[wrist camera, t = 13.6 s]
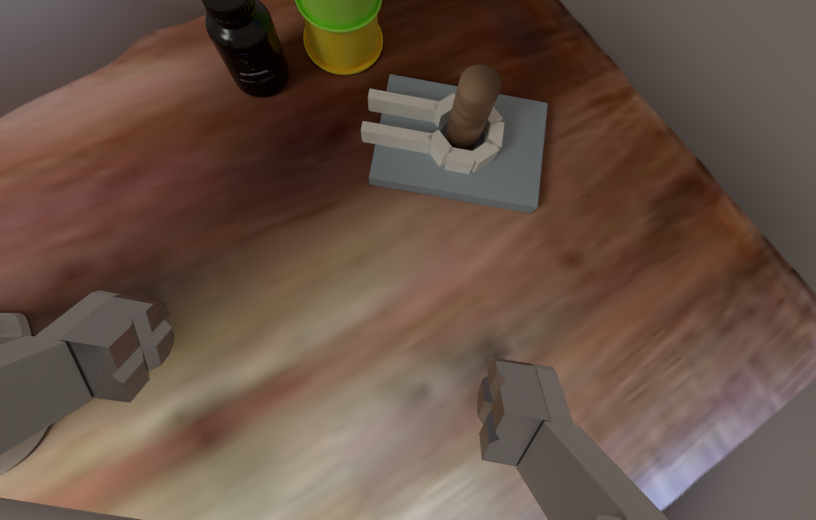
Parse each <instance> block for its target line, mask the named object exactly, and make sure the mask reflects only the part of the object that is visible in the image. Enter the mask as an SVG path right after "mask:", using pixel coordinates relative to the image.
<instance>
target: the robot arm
mask: <svg viewBox="0 0 816 520" xmlns="http://www.w3.org/2000/svg"><path fill="white" fill-rule="evenodd" d="M168 315H169V313H168V310H167V306H166V304H165V303H162V302H159V301H154V300H149V299H144V298H138V297H133V296H128V295H123V294H116V293H111V292H106V291H100V290H99V291H96V292H92V293H90V294H89V295H88V296H86V297H85V298H84V299H82V300H81V301H80V302H78V303H77V304H76V305H75V306H73V307H72V308H71V309H69V310H68V311H67V312H65V313H64V314H63V315H62V316H60V317H59V318H58V319H56V320H55V321H54V322H52V323H51V324H50V325H49V326H47V327H46V328H45V329H43V330H42V331H41V332H39V333H38V334H37V335H36V336H31V331H30V327H29V324H28V321H27V319H26V317H25V316H24V315H23V314H21V313H0V474H2V473H4V472H6V471H7V470H9V469H11V468H12V467H14V466H15V465H16V464H18V463H19V462H20V461H21V460H23V459H24V458H25V457H26V456H27V455H28V454H29V453H30V452H31V451H32V450H33V449H34V447H35V446H36V445H37V444H38V442H39V441H40V439H41V438H42V436H43V435H44V433H45V431H46V429H47V428H48V426H50V425H51V424H53V423H55V422H56V421H58V420H60V419H61V418H63V417H65V416H66V415H68V414H70V413H71V412H73V411H75V410H76V409H78V408H80V407H81V406H83V405H85V404H86V403H88V402H90V401H91V400H92V398H99V399H107V400H114V401H122V402H129V403H130V402H131V401H132V400H133V399H134V398H135V396H136V395H137V394H138V393H139V391H140V390H141V389H142V388H143V387H144V385H145V384H146V383H147V382H148V381H149V371H150V370H152V369H154V368H156V367H158V366H160V365H162V363H163V362H164V361H165V359H166V358H167V357H168V356H169V353H170V351H171V348H172V346H173V342H174V333H173V328H172V327H171V326H170V325H169V324H168V323H167V322H166V321H165V318H166V317H167V316H168ZM487 373H488V376H487V377H486V378H484V379H482V381H481V384H480V387H479V391H478V397H477V414H478V418H479V419H480V421H481V422H482V423H483V426H482V428H481V431H480V433H479V436H480V446H481V456H482V460H485V461H490V462H495V463H501V464H506V465H511V466H516V467H517V468H516V469H517V470H518V472H519V473H520V475H521V477H522V478H523V480H524V481H525V483H526V485H527V486H528V488H529V490H530V491H531V493H532V494H533V496H534V498H535V499H536V501H537V502H538V504H539V506H540V507H541V509H542V511H543V512H544V514H545V515H546V517H547V519H548V520H668V518H666V516H665V515H664V514H663V513H662V512H661V511H660V510H659V509H658V508H657V507H656V506H655V505H654V504H653V503H652V502H651V501H650V500H649V499H648V498H647V496H646V495H645V494H644V493H643V492H642V491H641V490H640V489H639V488H638V487H637V486H636V485H635V484H634V483H633V482H632V481H631V480H630V479H629V478H628V477H627V476H626V474H625V473H624V472H623V471H622V470H621V469H620V468H619V467H618V466H617V465H616V464H615V463H614V462H613V461H612V460H611V459H610V458H609V457H608V456H607V455H606V454H605V452H604V451H603V450H602V449H601V448H600V447H599V446H598V445H597V444H596V443H595V442H594V441H593V440H592V439H591V438H590V437H589V436H588V435H587V434H586V433H585V432H584V430H583V429H582V428H581V427H577V426H574V424H573V421H572V418H571V415H570V412H569V409H568V406H567V403H566V400H565V397H564V394H563V391H562V388H561V386H560V383H559V380H558V377H557V374H556V371H555V370H554V368H553V367H549V366H543V365H536V364H530V363H524V362H517V361H511V360H505V359H498V358H492V359H491V360H490V361H489V364H488V366H487ZM0 520H140V519H134V518H128V517H121V516H115V515H108V514H102V513H96V512H89V511H83V510H76V509H70V508H63V507H57V506H51V505H44V504H38V503H31V502H25V501H19V500H12V499H6V498H0Z"/></svg>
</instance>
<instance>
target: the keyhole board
mask: <svg viewBox="0 0 816 520" xmlns="http://www.w3.org/2000/svg"><path fill="white" fill-rule="evenodd" d="M457 88H458V86H452V85H447V84H441V83H436V82H430V81H425V80H419V79H414V78H409V77H403V76H398V75H392V74H390V76H389V81H388V86H387V91H386V92H385V91H380V90H375V89H370V90H369V94H368V106H369V111H373V112H379V113H382V115H381V120H380V124H377V123H371V122H366V121H363V122H362V127H361V137H362V142H366V143H371V144H375V149H374V154H373V159H372V164H371V169H370V174H369V184H370V185H375V186H381V187H387V188H392V189H398V190H403V191H409V192H414V193H420V194H426V195H431V196H437V197H442V198H448V199H454V200H459V201H465V202H470V203H476V204H482V205H487V206H493V207H498V208H504V209H510V210H515V211H521V212H526V213H532V212H533V211H534V210H535V209H537V207H538V197H539V187H540V176H541V166H542V156H543V146H544V136H545V126H546V116H547V106H548V103H545V102H539V101H534V100H528V99H523V98H517V97H512V96H507V95H501V94H499V95H498V98H497V100H496V102H495V104H494V106H493V109H492V111H491V113H490V115H489V117H488V120H487V122H486V124H485V126H484V128H483V131H482V133H481V135H480V137H479V140H478V142H477V144H476V146H475V148H474V149H473V150H472V151H469V150H464V149H458V148H453V147H452V146H451V145H450V144H449V142H448V141H447V140H446V138H445V137H444V135H445V131H446V127H447V124H448V120H449V116H450V113H451V109H452V106H453V102H454V98H455V95H456V91H457Z"/></svg>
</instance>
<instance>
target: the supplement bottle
mask: <svg viewBox="0 0 816 520" xmlns="http://www.w3.org/2000/svg"><path fill="white" fill-rule="evenodd" d="M202 2H203V4H204V6H205V9H206V11H207V13H206V19H205V23H206V29H207V32H208V34H209V36H210V38H211V40H212V42H213V43H214V45H215V47H216V49H217V51H218V52H219V54H220V56H221V58H222V59H223V61H224V63H225V65H226V67H227V68H228V70H229V72H230V74H231V75H232V77H233V79H234V81H235V82H236V84H237V85H238V87H239V88H240V89H241V90H242V91H244V92H245V93H247V94H249V95H251V96H255V97H268V96H271V95H274V94H276V93H278V92H279V91H280V90H281V89H282V88H283V87H284V86H285V84H286V82H287V80H288V75H289V71H288V66H287V63H286V59H285V56H284V54H283V51H282V48H281V45H280V42H279V39H278V36H277V33H276V30H275V27H274V24H273V21H272V18H271V16H270V13H269V11H268V10H267V8H266V7H265V6H264V4H263V3H261V2H260V1H259V0H202Z"/></svg>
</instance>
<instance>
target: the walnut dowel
mask: <svg viewBox="0 0 816 520" xmlns="http://www.w3.org/2000/svg"><path fill="white" fill-rule="evenodd" d="M501 87H502V82H501V79H500V76H499V75H498V73H497V72H496V71H495V70H494V69H492V68H490V67H488V66H486V65H473V66H470V67H468V68H467V69H465V70H464V71H463V73H462V74H461V77H460V80H459V84H458V88H457V91H456V95H455V98H454V102H453V106H452V109H451V113H450V116H449V120H448V124H447V127H446V131H445V135H444V137H445V138H446V140H447V141H448V142H449V144H450V145H451V146H452V147H453V148H458V149H464V150H469V151H472V150H473V149H474V148H475V146H476V144H477V142H478V140H479V137H480V135H481V133H482V131H483V128H484V126H485V124H486V122H487V120H488V117H489V115H490V113H491V111H492V109H493V106H494V104H495V102H496V100H497V98H498V95H499V93H500V91H501Z"/></svg>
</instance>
